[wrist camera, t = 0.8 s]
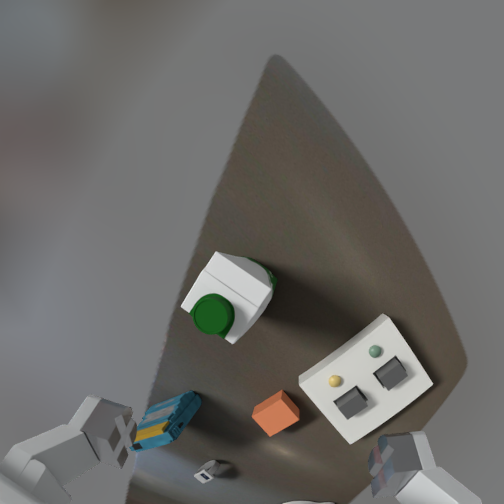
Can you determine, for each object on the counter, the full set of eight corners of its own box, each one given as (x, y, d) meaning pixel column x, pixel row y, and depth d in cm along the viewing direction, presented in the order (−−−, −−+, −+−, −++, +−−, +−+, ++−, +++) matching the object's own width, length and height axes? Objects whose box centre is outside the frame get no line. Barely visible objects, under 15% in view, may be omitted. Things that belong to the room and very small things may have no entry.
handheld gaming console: (166, 417, 54) (132, 454, 39) (155, 400, 54) (118, 435, 40) (205, 402, 53) (178, 442, 38) (194, 385, 53) (162, 421, 39)
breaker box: (425, 376, 47) (434, 385, 43) (347, 433, 49) (350, 446, 44) (382, 313, 49) (390, 318, 44) (298, 376, 51) (298, 386, 46)
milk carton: (213, 292, 53) (167, 310, 33) (242, 248, 53) (209, 241, 33) (255, 321, 52) (231, 357, 32) (286, 277, 51) (279, 288, 32)
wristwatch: (205, 473, 53) (198, 486, 48) (195, 465, 53) (188, 478, 48) (225, 461, 52) (219, 475, 47) (215, 453, 53) (209, 467, 48)
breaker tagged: (363, 395, 47) (368, 406, 43) (344, 408, 47) (347, 419, 43) (354, 383, 47) (358, 394, 43) (334, 396, 48) (337, 408, 43)
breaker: (400, 366, 46) (408, 375, 42) (381, 381, 47) (388, 391, 42) (391, 354, 47) (399, 362, 42) (373, 369, 47) (379, 378, 42)
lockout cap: (299, 409, 50) (299, 419, 47) (271, 425, 51) (269, 436, 47) (282, 389, 51) (281, 398, 47) (254, 406, 52) (251, 416, 48)
